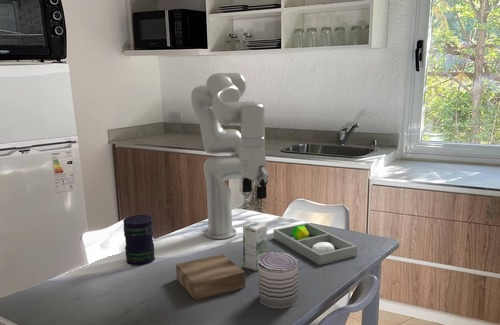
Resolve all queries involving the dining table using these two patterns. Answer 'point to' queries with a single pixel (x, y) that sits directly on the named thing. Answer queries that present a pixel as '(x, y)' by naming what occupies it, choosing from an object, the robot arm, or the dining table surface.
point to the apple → (300, 232)
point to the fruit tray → (320, 236)
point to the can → (278, 280)
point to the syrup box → (254, 244)
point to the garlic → (323, 247)
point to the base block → (210, 276)
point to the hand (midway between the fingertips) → (254, 195)
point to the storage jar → (139, 240)
